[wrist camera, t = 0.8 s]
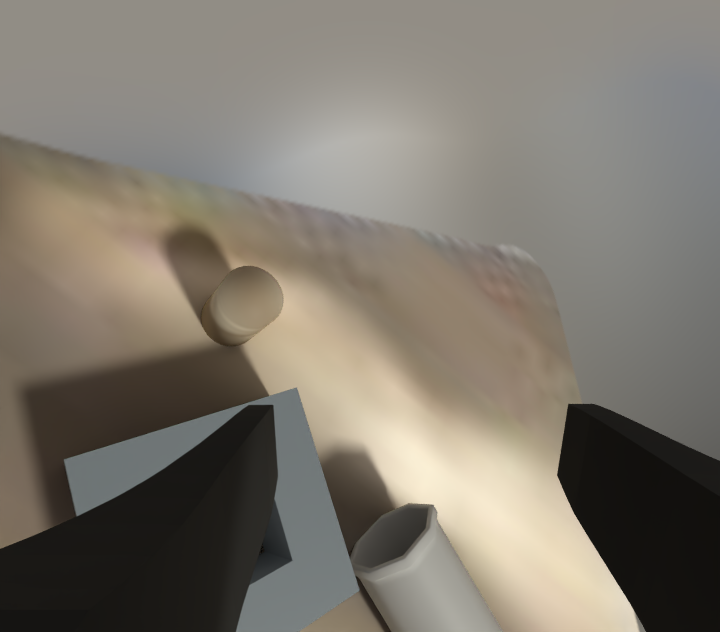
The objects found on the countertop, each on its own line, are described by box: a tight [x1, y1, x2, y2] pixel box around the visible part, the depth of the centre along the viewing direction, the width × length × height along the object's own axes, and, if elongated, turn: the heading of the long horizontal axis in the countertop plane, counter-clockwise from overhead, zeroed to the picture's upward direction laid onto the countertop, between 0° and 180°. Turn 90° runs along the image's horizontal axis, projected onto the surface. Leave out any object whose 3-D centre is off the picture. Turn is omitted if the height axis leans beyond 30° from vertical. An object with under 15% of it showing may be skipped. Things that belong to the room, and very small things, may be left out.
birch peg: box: [201, 266, 283, 346], centre depth 24 cm, size 3×3×4 cm
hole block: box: [64, 388, 359, 632], centre depth 20 cm, size 10×10×4 cm
